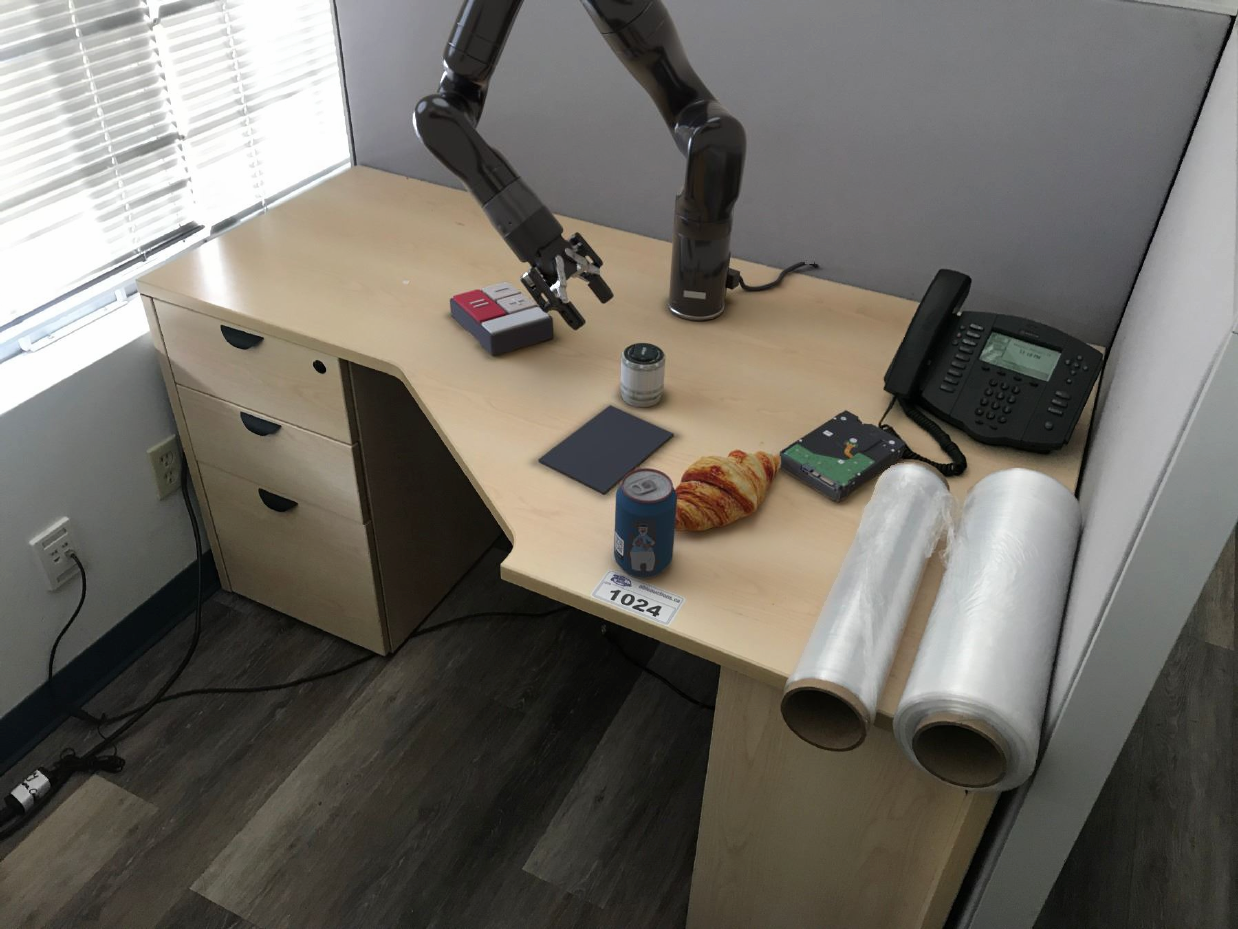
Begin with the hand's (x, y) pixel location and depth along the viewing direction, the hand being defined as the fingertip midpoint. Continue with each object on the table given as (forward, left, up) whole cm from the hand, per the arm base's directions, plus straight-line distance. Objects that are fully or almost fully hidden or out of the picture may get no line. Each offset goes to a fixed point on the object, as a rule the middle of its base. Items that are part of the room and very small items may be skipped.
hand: (595, 313), depth 139 cm
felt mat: (+12, +11, -12) cm, 20 cm away
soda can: (+27, +28, -12) cm, 40 cm away
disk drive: (-5, +38, -12) cm, 40 cm away
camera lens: (-1, +8, -12) cm, 14 cm away
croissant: (+12, +30, -12) cm, 34 cm away
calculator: (-3, -21, -12) cm, 25 cm away
